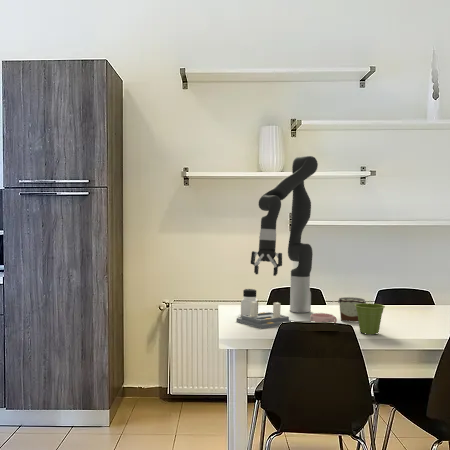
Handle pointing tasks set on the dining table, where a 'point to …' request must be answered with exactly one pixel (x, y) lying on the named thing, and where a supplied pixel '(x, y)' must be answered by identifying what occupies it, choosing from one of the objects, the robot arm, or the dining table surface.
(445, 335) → the dining table surface
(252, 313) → the tab
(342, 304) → the food container
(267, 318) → the dark gray tray
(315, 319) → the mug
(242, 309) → the medicine bottle
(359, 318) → the plant pot
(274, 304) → the tab
